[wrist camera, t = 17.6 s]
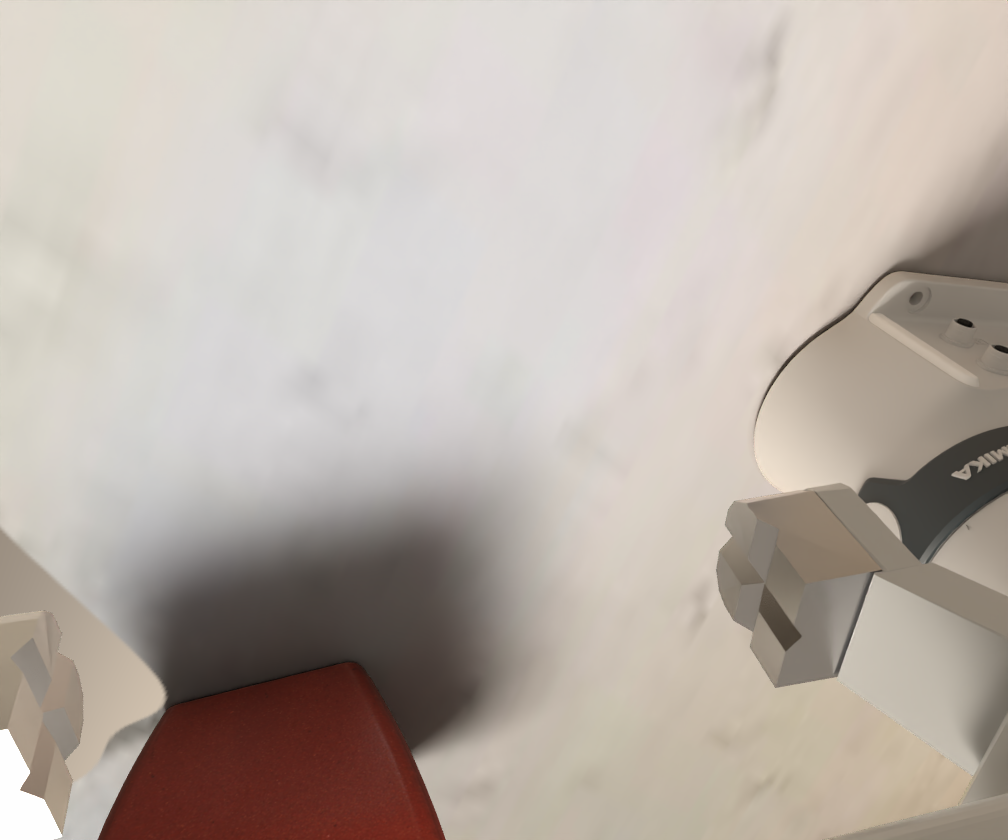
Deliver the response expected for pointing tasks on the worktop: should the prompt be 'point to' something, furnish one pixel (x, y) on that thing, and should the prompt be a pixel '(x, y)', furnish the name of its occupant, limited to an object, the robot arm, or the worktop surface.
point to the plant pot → (278, 767)
